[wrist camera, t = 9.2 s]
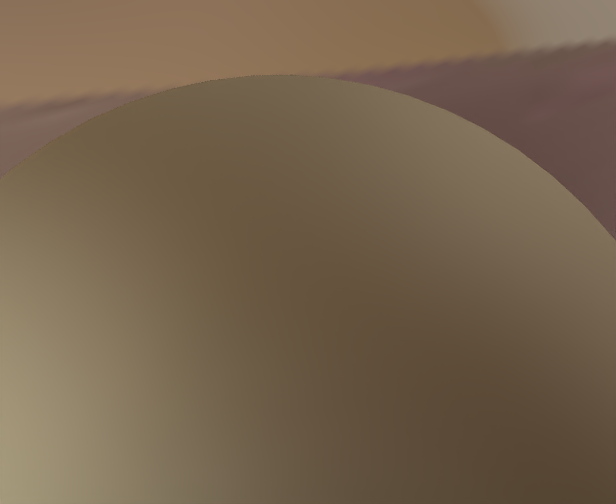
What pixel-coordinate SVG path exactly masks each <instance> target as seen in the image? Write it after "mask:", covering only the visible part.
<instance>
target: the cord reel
mask: <svg viewBox="0 0 616 504" xmlns="http://www.w3.org/2000/svg"><path fill="white" fill-rule="evenodd" d="M0 504H616V241H615V239H614V238H613V237H612V236H611V235H610V234H609V233H608V232H607V230H606V229H605V228H604V227H603V226H602V225H601V224H600V223H599V221H598V220H597V219H596V218H595V217H594V216H593V215H592V213H591V212H590V211H589V210H588V209H587V208H586V207H585V206H584V205H583V204H582V203H581V202H580V201H579V200H578V199H577V198H576V197H575V196H573V195H572V194H571V193H570V192H569V191H568V190H567V189H566V188H565V187H564V186H563V185H562V184H561V183H559V182H558V181H557V180H556V179H555V178H554V177H553V176H552V175H550V174H549V173H548V172H546V171H545V170H544V169H543V168H541V167H540V166H539V165H537V164H536V163H535V162H533V161H532V160H531V159H529V158H528V157H527V156H525V155H524V154H523V153H521V152H520V151H519V150H517V149H516V148H514V147H513V146H511V145H509V144H508V143H506V142H504V141H503V140H501V139H500V138H498V137H496V136H495V135H493V134H492V133H490V132H488V131H487V130H485V129H483V128H482V127H480V126H478V125H476V124H474V123H471V122H469V121H467V120H465V119H463V118H461V117H459V116H457V115H455V114H453V113H451V112H449V111H447V110H445V109H442V108H440V107H437V106H434V105H432V104H429V103H427V102H424V101H421V100H419V99H416V98H413V97H411V96H408V95H404V94H401V93H397V92H394V91H390V90H386V89H383V88H379V87H376V86H372V85H367V84H361V83H356V82H350V81H344V80H339V79H333V78H323V77H310V76H298V75H262V76H245V77H236V78H227V79H218V80H210V81H205V82H201V83H196V84H192V85H187V86H182V87H178V88H173V89H169V90H166V91H163V92H160V93H157V94H153V95H150V96H147V97H144V98H141V99H138V100H135V101H132V102H129V103H127V104H124V105H122V106H120V107H117V108H115V109H113V110H111V111H108V112H106V113H104V114H101V115H99V116H97V117H94V118H92V119H90V120H88V121H86V122H84V123H83V124H81V125H79V126H77V127H76V128H74V129H72V130H70V131H68V132H67V133H65V134H63V135H61V136H60V137H58V138H56V139H54V140H53V141H51V142H49V143H48V144H46V145H45V146H44V147H42V148H41V149H39V150H38V151H36V152H35V153H34V154H32V155H31V156H29V157H28V158H27V159H25V160H24V161H22V162H21V163H20V164H18V165H17V166H15V167H14V168H12V169H11V170H10V171H9V172H8V173H7V174H5V175H4V176H3V177H2V178H1V179H0Z"/></svg>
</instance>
